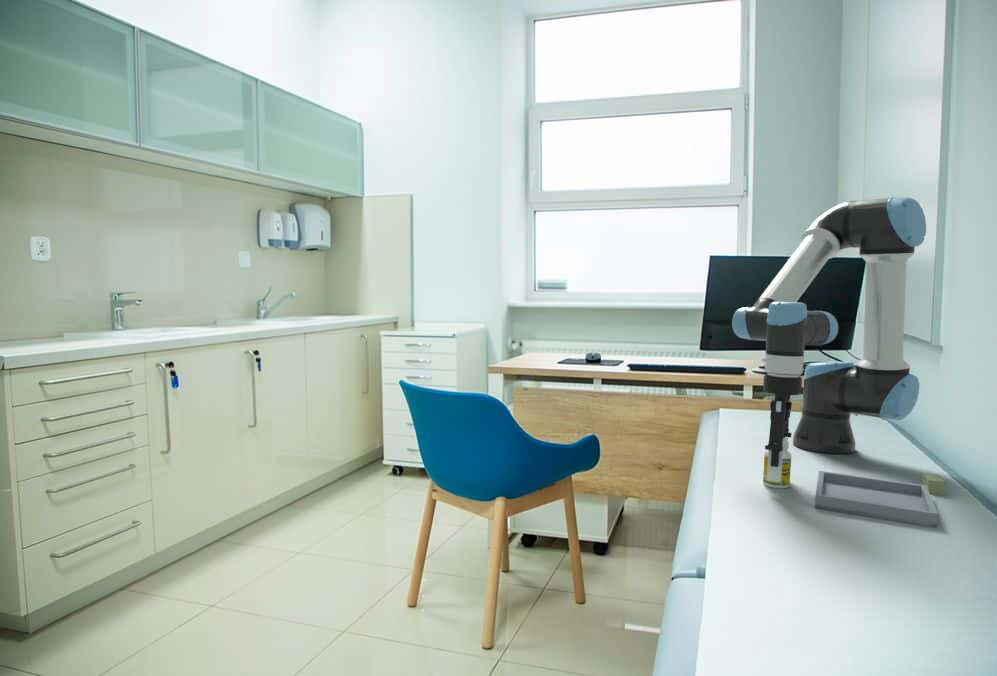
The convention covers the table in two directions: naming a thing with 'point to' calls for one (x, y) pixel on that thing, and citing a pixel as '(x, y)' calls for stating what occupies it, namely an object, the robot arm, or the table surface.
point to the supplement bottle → (785, 469)
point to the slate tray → (876, 498)
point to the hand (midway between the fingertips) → (776, 473)
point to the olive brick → (934, 483)
